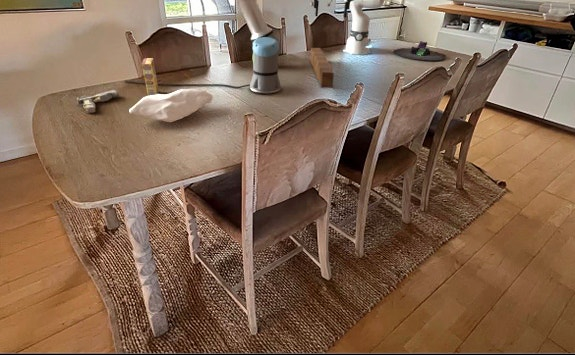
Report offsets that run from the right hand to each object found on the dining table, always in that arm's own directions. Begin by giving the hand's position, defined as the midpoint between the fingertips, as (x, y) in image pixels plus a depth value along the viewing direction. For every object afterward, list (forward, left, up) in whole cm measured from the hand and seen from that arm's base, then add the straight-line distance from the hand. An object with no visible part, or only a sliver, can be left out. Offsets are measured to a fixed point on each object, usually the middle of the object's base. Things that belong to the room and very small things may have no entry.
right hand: (320, 6), depth 204 cm
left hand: (+37, +8, 0) cm, 38 cm away
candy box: (+73, -69, -32) cm, 106 cm away
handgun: (+89, -85, -32) cm, 127 cm away
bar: (+18, +4, -32) cm, 37 cm away
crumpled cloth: (+92, -52, -32) cm, 110 cm away
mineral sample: (-42, +67, -32) cm, 86 cm away
